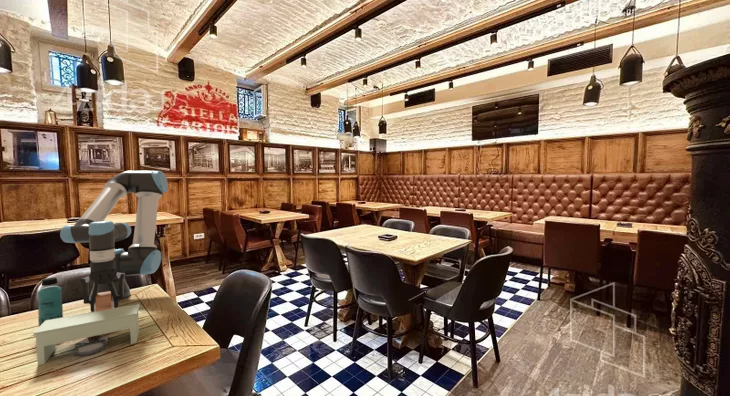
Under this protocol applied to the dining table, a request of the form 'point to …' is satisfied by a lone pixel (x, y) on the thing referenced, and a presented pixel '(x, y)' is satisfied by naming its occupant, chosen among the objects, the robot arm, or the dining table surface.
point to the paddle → (103, 302)
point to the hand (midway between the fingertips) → (105, 317)
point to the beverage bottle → (49, 301)
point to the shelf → (85, 328)
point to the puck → (91, 346)
